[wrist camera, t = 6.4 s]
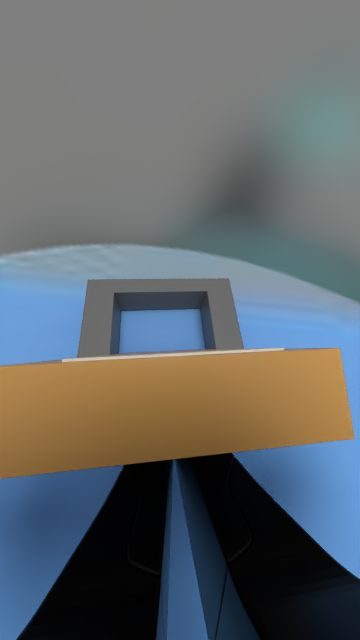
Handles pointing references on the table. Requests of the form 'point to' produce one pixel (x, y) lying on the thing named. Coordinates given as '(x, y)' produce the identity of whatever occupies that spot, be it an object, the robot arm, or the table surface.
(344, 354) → the table surface
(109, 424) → the block
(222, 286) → the breaker housing
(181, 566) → the table surface
